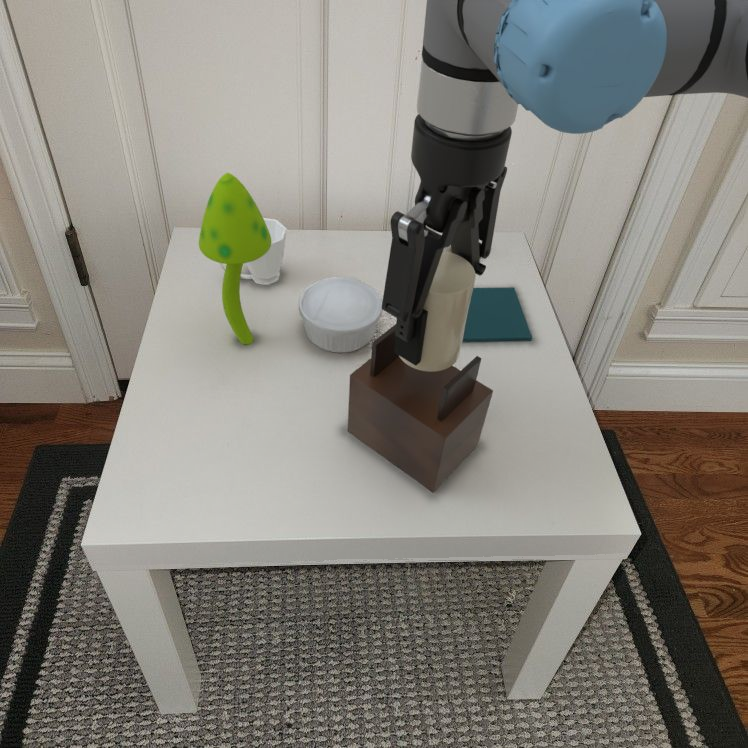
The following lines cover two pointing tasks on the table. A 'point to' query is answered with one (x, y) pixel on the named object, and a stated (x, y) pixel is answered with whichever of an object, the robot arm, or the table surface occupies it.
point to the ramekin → (340, 313)
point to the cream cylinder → (446, 313)
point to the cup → (268, 256)
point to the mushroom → (233, 243)
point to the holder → (417, 412)
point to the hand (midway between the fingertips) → (429, 338)
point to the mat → (495, 316)
